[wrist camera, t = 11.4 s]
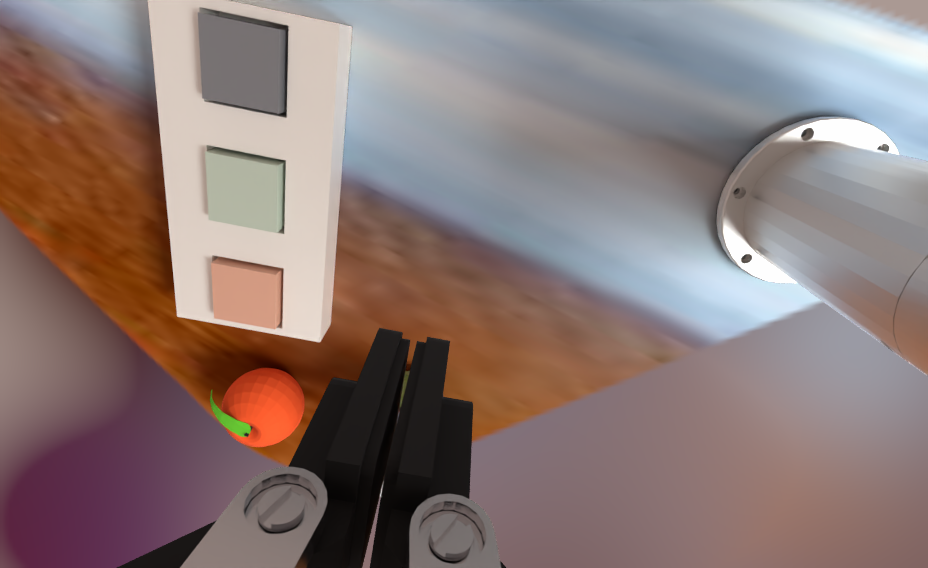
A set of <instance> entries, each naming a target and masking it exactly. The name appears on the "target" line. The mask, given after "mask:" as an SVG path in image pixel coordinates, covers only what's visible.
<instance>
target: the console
mask: <svg viewBox="0 0 928 568" xmlns="http://www.w3.org/2000/svg"><path fill="white" fill-rule="evenodd" d="M148 9H149V20H150V31H151V42H152V52H153V63H154V74H155V84H156V95H157V106H158V117H159V127H160V138H161V149H162V159H163V170H164V181H165V192H166V202H167V213H168V224H169V234H170V245H171V256H172V267H173V277H174V288H175V299H176V309H177V317H183V318H188V319H194V320H199V321H205V322H210V323H216V324H221V325H227V326H232V327H238V328H243V329H249V330H254V331H260V332H265V333H271V334H276V335H282V336H287V337H293V338H298V339H304V340H309V341H315V342H321V340H322V338H323V336H324V335H325V333H326V331H327V330H328V328H329V326H330V325H331V313H332V299H333V286H334V272H335V258H336V245H337V231H338V217H339V204H340V190H341V176H342V163H343V149H344V135H345V122H346V108H347V94H348V81H349V67H350V53H351V40H352V27H351V26H347V25H343V24H339V23H334V22H329V21H325V20H320V19H315V18H310V17H306V16H301V15H296V14H291V13H286V12H282V11H277V10H272V9H267V8H263V7H258V6H253V5H248V4H244V3H239V2H234V1H229V0H148ZM198 12H199V13H205V14H211V15H217V16H223V17H228V18H232V19H237V20H242V21H247V22H252V23H256V24H261V25H266V26H271V27H276V28H280V29H285V30H289V33H288V81H287V111H286V112H283V113H279V114H277V113H272V112H267V111H262V110H257V109H252V108H247V107H243V106H238V105H233V104H228V103H223V102H218V101H213V100H208V99H203V98H202V85H201V66H200V47H199V29H198ZM219 147H220V148H225V149H230V150H235V151H240V152H245V153H250V154H255V155H260V156H265V157H270V158H276V159H281V160H286V178H285V226H284V227H283V228H282V229H281V230H280V231H278V232H277V233H274V232H269V231H264V230H258V229H253V228H248V227H243V226H237V225H232V224H227V223H222V222H216V221H211V220H209V216H208V197H207V178H206V160H205V152H206V151H209V150H212V149H215V148H219ZM218 257H225V258H230V259H236V260H241V261H246V262H252V263H257V264H262V265H268V266H273V267H278V268H284V275H283V320H282V322H281V323H280V324H279V325H278V327H277V328H276V329H270V328H264V327H259V326H253V325H248V324H242V323H237V322H231V321H226V320H220V319H215V318H214V309H213V290H212V272H211V263H212V262H213V261H214V260H216V259H217V258H218Z"/></svg>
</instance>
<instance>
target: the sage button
mask: <svg viewBox="0 0 928 568" xmlns="http://www.w3.org/2000/svg"><path fill="white" fill-rule="evenodd" d="M205 160H206V178H207V197H208V216H209V220H211V221H216V222H222V223H227V224H232V225H237V226H243V227H248V228H253V229H258V230H264V231H269V232H274V233H277V232H278V231H280V230H281V229H282V228H283V227H284V226H285V178H286V160H281V159H276V158H270V157H265V156H260V155H255V154H250V153H245V152H240V151H235V150H230V149H225V148H220V147H219V148H215V149H212V150H209V151H206V152H205Z"/></svg>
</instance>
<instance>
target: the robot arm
mask: <svg viewBox="0 0 928 568" xmlns="http://www.w3.org/2000/svg"><path fill="white" fill-rule="evenodd" d="M802 132H803V133H802ZM801 133H802V135H801ZM736 189H737V191H736V192H734V191H735V190H736ZM716 223H717V231H718V237H719V239H720V242H721V245H722V247H723V249H724V251H725V252H726V254H727V255H728V256H729V258H730V259H731V260H732V261H733V262H734V263H735V264H736V265H737V266H739V267H740V268H741V269H743V270H744V271H745V272H747V273H748V274H750V275H752V276H754V277H756V278H759V279H761V280H764V281H769V282H774V283H798V284H799V285H801V286H802V287H803V288H805V289H806V290H808V291H809V292H810V293H812V294H813V295H815V296H816V297H817V298H819V299H820V300H822V301H823V302H824V303H826V304H827V305H829V306H830V307H832V308H833V309H834V310H836V311H837V312H839V313H840V314H841V315H843V316H844V317H845V318H847V319H848V320H849V321H851V322H852V323H854V324H855V325H856V326H858V327H859V328H861V329H862V330H863V331H865V332H866V333H868V334H869V335H870V336H872V337H873V338H875V339H876V340H877V341H879V342H880V343H881V344H883V345H884V346H886V347H887V348H888V349H890V350H891V351H893V352H894V353H895V354H897V355H898V356H900V357H902V358H903V359H904V360H906V361H907V362H908V363H910V364H911V365H913V366H915V367H916V368H917V369H919V370H920V371H921V372H923V373H924V374H925V375H927V376H928V161H925V160H921V159H916V158H912V157H907V156H903V155H900V153H899V151H898V149H897V147H896V145H895V143H894V142H893V141H892V140H891V139H890V138H889V137H888V136H887V134H886V133H885V132H883V131H882V130H880V129H878V128H877V127H875V126H874V125H872V124H869V123H866V122H863V121H860V120H857V119H852V118H846V117H817V118H812V119H806V120H802V121H800V122H797V123H794V124H791V125H789V126H786V127H784V128H782V129H780V130H779V131H777V132H775V133H773V134H771V135H770V136H768V137H767V138H765V139H764V140H763V141H762V142H760V143H759V144H758V145H756V146H755V147H754V148H753V149H752V150H751V151H750V152H749V153H748V154H747V155H746V156H745V157H744V158H743V159H742V160H741V161H740V162H739V164H738V165H737V167H736V168H735V169H734V171H733V172H732V174H731V175H730V176H729V179H728V181H727V183H726V185H725V187H724V189H723V191H722V194H721V197H720V201H719V204H718V209H717V221H716ZM449 344H450V341H447V340H442V339H436V338H431V337H427V341H426V343H424V342H419V341H417V344H416V348H415V352H414V356H413V360H412V364H411V368H410V372H409V376H408V380H407V384H406V388H405V392H404V396H403V400H402V404H401V408H400V412H399V407H400V401H401V394H402V388H403V382H404V376H405V370H406V364H407V358H408V351H409V345H410V340H408V339H402V332H398V331H393V330H387V329H382V328H379V330H378V332H377V334H376V337H375V339H374V342H373V344H372V347H371V349H370V352H369V354H368V357H367V359H366V362H365V364H364V367H363V369H362V372H361V374H360V377H359V379H358V382H357V381H352V380H346V379H341V378H335V377H334V378H332V380H331V381H330V383H329V385H328V387H327V389H326V391H325V393H324V395H323V397H322V399H321V401H320V403H319V405H318V407H317V409H316V411H315V414H314V416H313V418H312V420H311V422H310V424H309V426H308V428H307V430H306V432H305V434H304V436H303V438H302V440H301V442H300V444H299V446H298V448H297V450H296V452H295V454H294V456H293V458H292V461H291V463H290V465H289V467H280V468H275V469H272V470H269V471H265V472H263V473H262V474H260V475H258V476H256V477H254V478H253V479H251V480H250V481H249V482H248V483H247V484H246V485H245V486H244V487H243V488H242V489H241V490H240V491H239V493H238V494H237V495H236V497H235V498H234V499H233V500H232V502H231V503H230V504H229V506H228V507H227V508H226V509H225V511H224V512H223V513H222V515H221V516H220V517H219V519H218V520H217V521H215V522H213V523H210V524H208V525H206V526H204V527H202V528H200V529H198V530H196V531H194V532H192V533H189V534H187V535H185V536H183V537H181V538H179V539H177V540H175V541H172V542H170V543H168V544H166V545H164V546H162V547H160V548H158V549H156V550H153V551H151V552H149V553H147V554H145V555H143V556H141V557H139V558H136V559H135V560H132V561H130V562H128V563H126V564H124V565H122V566H120V567H117V568H362V566H363V562H364V558H365V554H366V550H367V546H368V542H369V537H370V533H371V529H372V525H373V521H374V517H375V513H376V509H377V505H378V501H379V497H380V493H381V489H382V494H381V500H380V506H379V513H378V520H377V525H376V532H375V538H374V545H373V551H372V557H371V563H370V568H506V567H505V566H504V565H503V563H502V562H501V561H500V558H499V553H498V547H497V541H496V535H495V531H494V528H493V525H492V522H491V520H490V518H489V516H488V515H487V514H486V512H485V511H484V509H482V508H481V507H480V506H479V505H478V504H476V503H475V502H474V501H472V500H470V499H469V492H470V468H471V443H472V419H473V403H472V402H469V401H463V400H458V399H452V398H447V397H443V390H444V382H445V374H446V367H447V359H448V352H449ZM398 413H399V416H398ZM397 419H398V420H397ZM382 485H383V487H382Z"/></svg>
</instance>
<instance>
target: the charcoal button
mask: <svg viewBox="0 0 928 568" xmlns="http://www.w3.org/2000/svg"><path fill="white" fill-rule="evenodd" d="M198 29H199V47H200V66H201V85H202V98H203V99H208V100H213V101H218V102H223V103H228V104H233V105H238V106H243V107H247V108H252V109H257V110H262V111H267V112H272V113H277V114H279V113H283V112H286V111H287V81H288V33H289V30H285V29H280V28H276V27H271V26H266V25H261V24H256V23H252V22H247V21H242V20H237V19H232V18H228V17H223V16H217V15H211V14H205V13H199V12H198Z"/></svg>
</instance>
